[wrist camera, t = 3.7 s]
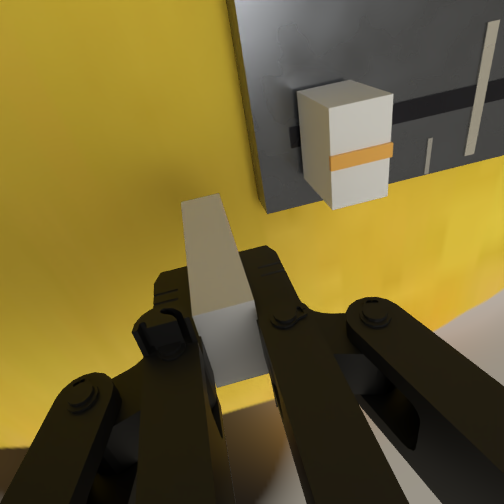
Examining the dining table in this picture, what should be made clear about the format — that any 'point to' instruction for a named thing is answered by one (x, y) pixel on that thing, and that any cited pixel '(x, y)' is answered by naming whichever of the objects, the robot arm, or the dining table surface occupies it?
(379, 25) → the console
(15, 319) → the dining table surface
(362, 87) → the fader
